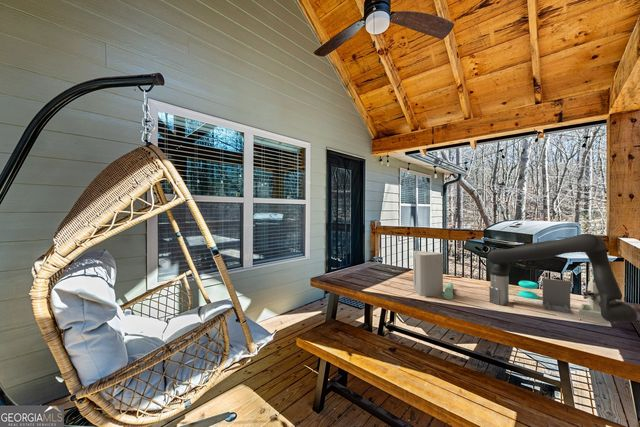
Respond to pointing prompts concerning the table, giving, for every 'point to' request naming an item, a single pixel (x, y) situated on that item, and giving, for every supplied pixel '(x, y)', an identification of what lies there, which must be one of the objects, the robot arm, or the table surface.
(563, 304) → the printer bay
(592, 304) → the grey tall block
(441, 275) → the tall grey box
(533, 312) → the table surface
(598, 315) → the waste tray
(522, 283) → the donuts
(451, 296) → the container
